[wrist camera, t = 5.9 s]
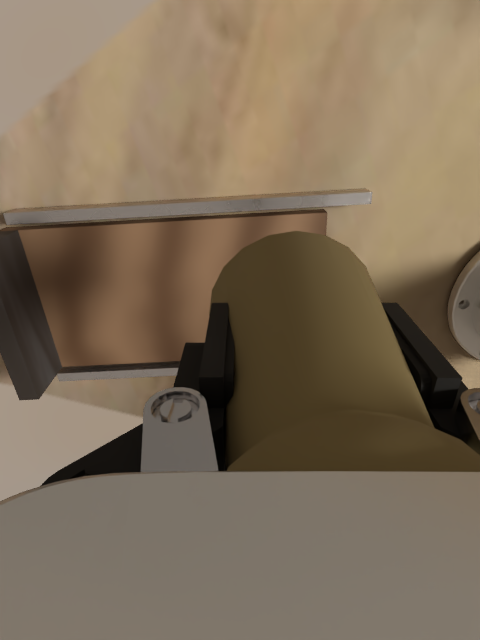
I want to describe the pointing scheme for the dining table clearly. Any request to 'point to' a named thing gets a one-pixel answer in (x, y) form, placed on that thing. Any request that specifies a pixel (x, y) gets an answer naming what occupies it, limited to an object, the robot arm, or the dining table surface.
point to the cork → (321, 368)
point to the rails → (164, 210)
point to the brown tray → (117, 288)
